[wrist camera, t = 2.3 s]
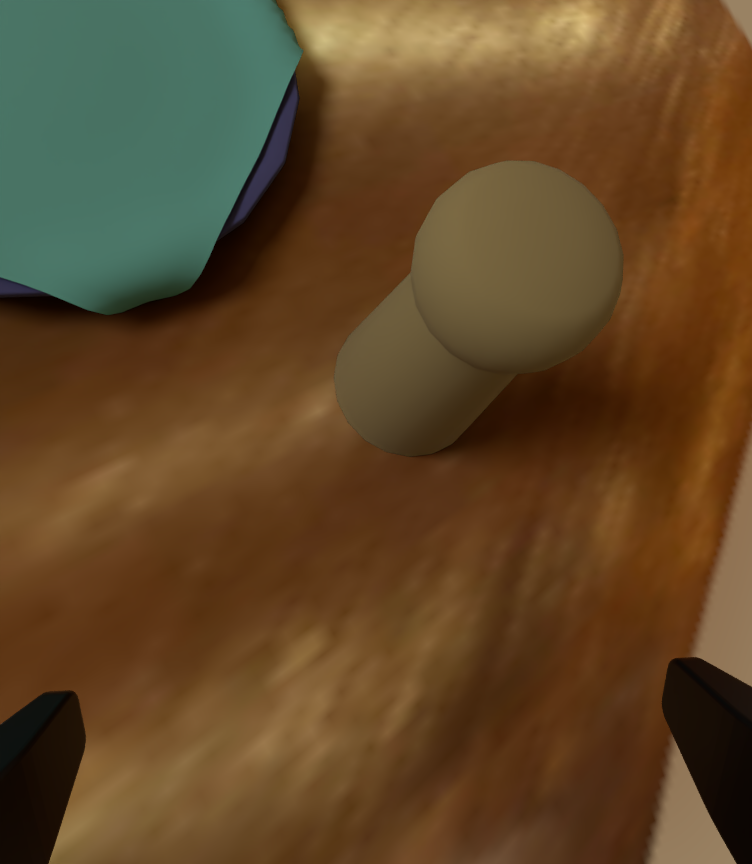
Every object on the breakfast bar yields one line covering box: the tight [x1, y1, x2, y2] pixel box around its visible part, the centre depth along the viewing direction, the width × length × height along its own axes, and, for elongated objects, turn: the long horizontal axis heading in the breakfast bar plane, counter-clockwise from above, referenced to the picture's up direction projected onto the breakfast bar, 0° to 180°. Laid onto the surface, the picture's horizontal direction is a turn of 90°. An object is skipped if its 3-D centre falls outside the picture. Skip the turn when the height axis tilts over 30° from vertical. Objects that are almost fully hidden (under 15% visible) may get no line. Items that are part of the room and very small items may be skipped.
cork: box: [334, 161, 623, 457], centre depth 18 cm, size 6×6×11 cm
